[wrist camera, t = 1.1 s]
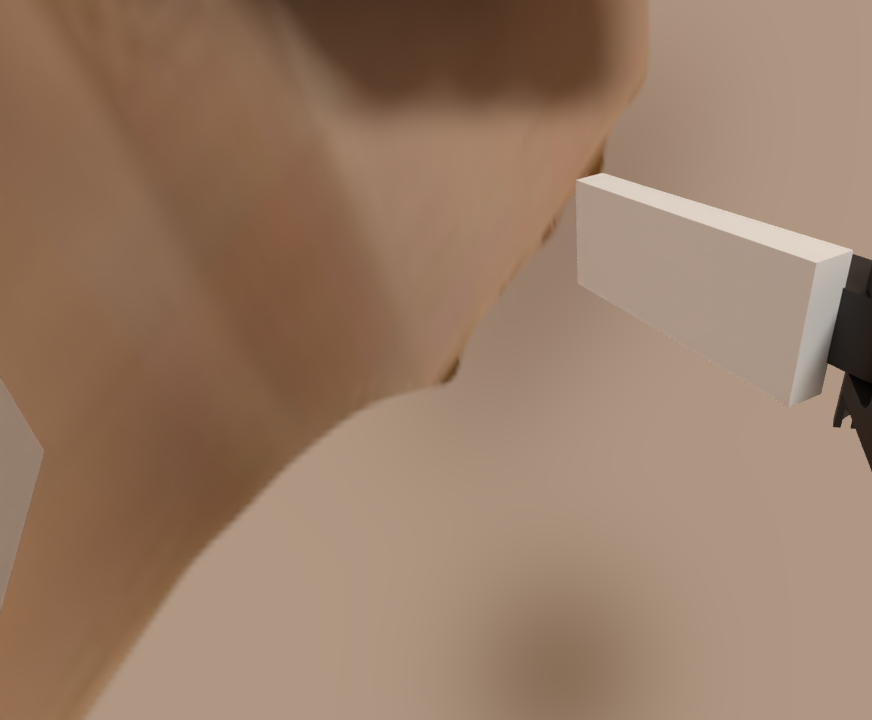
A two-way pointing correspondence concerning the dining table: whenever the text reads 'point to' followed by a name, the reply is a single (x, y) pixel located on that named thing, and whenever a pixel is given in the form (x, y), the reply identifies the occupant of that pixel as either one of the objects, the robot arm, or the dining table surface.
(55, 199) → the dining table surface
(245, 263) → the dining table surface
